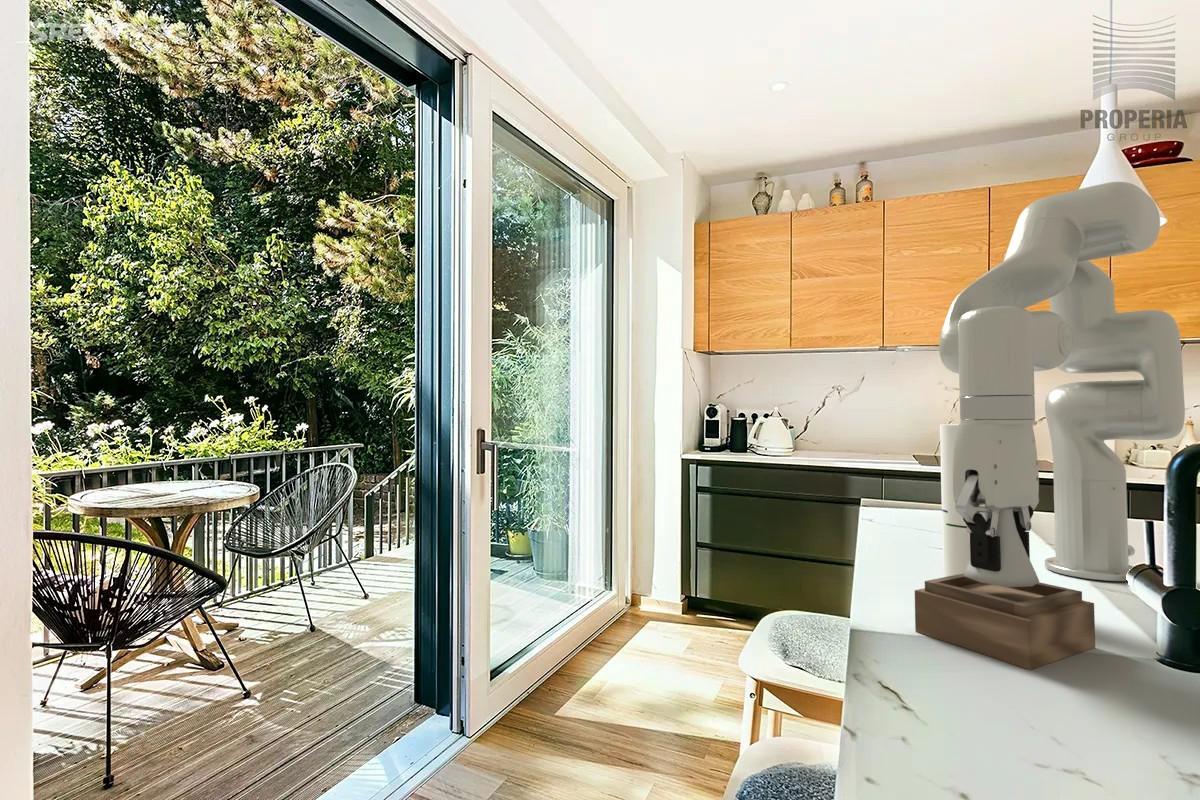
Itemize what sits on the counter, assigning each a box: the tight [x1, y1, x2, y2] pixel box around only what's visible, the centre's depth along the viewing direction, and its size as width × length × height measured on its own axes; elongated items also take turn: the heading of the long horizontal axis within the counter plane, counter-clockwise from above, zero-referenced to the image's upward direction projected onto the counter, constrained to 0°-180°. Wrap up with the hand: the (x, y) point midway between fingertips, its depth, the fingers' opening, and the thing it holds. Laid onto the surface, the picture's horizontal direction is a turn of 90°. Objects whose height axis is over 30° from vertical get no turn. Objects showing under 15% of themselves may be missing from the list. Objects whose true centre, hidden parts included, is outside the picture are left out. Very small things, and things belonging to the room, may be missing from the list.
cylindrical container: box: [939, 423, 985, 578], centre depth 88 cm, size 7×7×25 cm
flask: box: [964, 505, 1040, 587], centre depth 73 cm, size 7×7×10 cm
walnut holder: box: [914, 573, 1096, 671], centre depth 73 cm, size 13×13×6 cm
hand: (1000, 564), depth 73 cm, fingers closed on flask, 4 cm apart
